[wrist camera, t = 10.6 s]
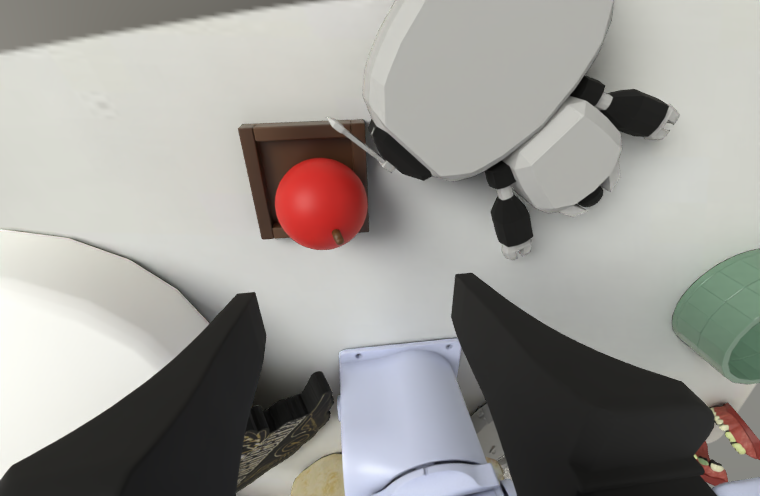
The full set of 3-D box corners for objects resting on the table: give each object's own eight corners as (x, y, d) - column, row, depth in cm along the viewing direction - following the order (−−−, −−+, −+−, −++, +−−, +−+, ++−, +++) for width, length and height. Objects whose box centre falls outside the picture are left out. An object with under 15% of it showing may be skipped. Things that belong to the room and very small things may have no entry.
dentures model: (737, 419, 33) (672, 468, 36) (785, 449, 32) (715, 497, 35) (709, 385, 38) (655, 431, 41) (750, 410, 37) (692, 455, 40)
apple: (275, 222, 20) (296, 290, 17) (259, 148, 17) (281, 213, 13) (351, 206, 22) (385, 266, 18) (349, 135, 18) (391, 191, 15)
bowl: (653, 347, 31) (699, 390, 27) (704, 253, 26) (768, 289, 22) (752, 336, 32) (810, 376, 28) (819, 243, 27) (900, 277, 23)
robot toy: (647, 104, 21) (506, -165, 13) (723, 123, 17) (582, -236, 10) (489, 246, 24) (313, 96, 17) (522, 287, 21) (314, 117, 13)
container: (117, 186, 18) (57, 226, 14) (267, 409, 29) (257, 468, 25) (-237, 284, 19) (-391, 349, 15) (37, 469, 29) (-10, 536, 25)
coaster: (264, 231, 21) (261, 239, 20) (241, 124, 18) (237, 128, 17) (367, 224, 21) (369, 232, 21) (363, 119, 18) (365, 122, 17)
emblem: (264, 483, 32) (43, 584, 20) (258, 466, 33) (42, 553, 21) (372, 380, 27) (162, 432, 15) (362, 363, 28) (155, 400, 16)
